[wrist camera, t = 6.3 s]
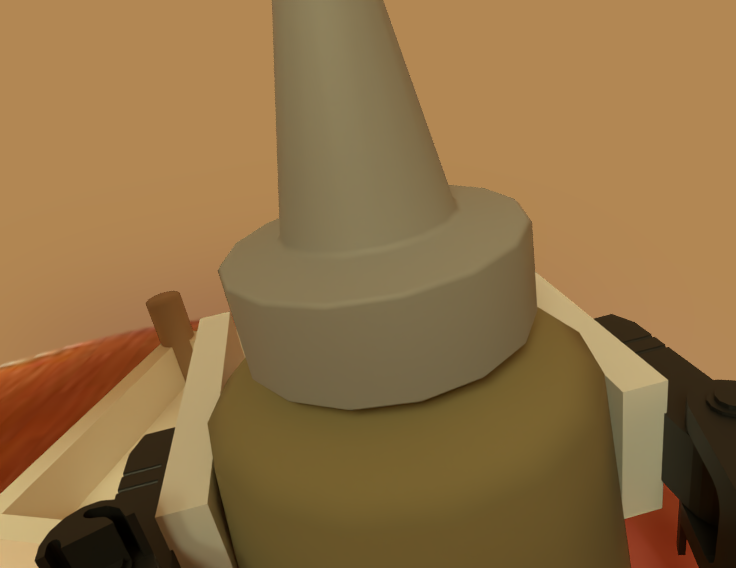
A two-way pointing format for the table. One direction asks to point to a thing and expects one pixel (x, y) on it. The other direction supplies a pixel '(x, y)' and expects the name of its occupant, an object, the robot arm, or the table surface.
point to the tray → (99, 440)
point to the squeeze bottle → (398, 344)
